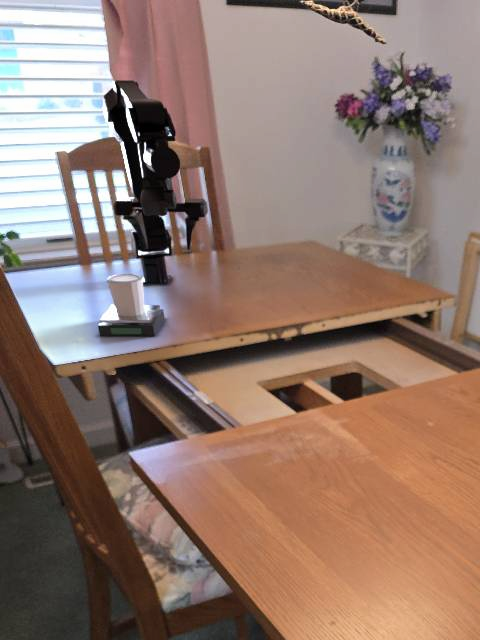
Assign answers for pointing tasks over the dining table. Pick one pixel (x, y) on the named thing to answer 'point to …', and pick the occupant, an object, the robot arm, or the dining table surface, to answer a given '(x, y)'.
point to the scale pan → (146, 317)
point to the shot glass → (127, 294)
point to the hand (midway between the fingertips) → (167, 249)
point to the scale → (133, 327)
